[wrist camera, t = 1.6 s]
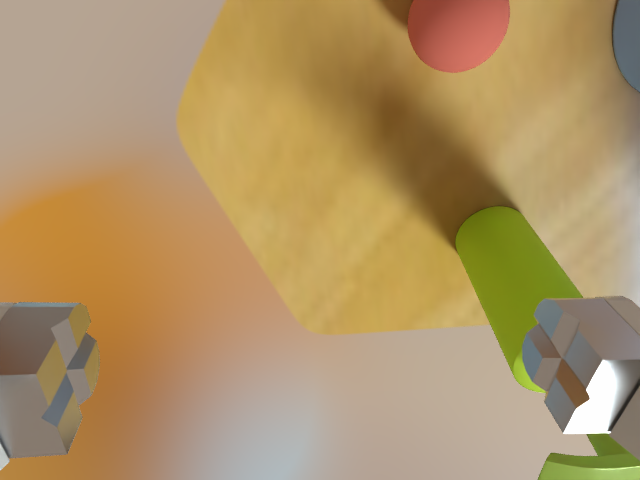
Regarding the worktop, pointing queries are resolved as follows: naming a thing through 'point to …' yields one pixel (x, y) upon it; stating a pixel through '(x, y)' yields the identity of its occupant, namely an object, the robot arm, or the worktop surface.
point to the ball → (457, 31)
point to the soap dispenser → (529, 319)
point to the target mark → (628, 40)
